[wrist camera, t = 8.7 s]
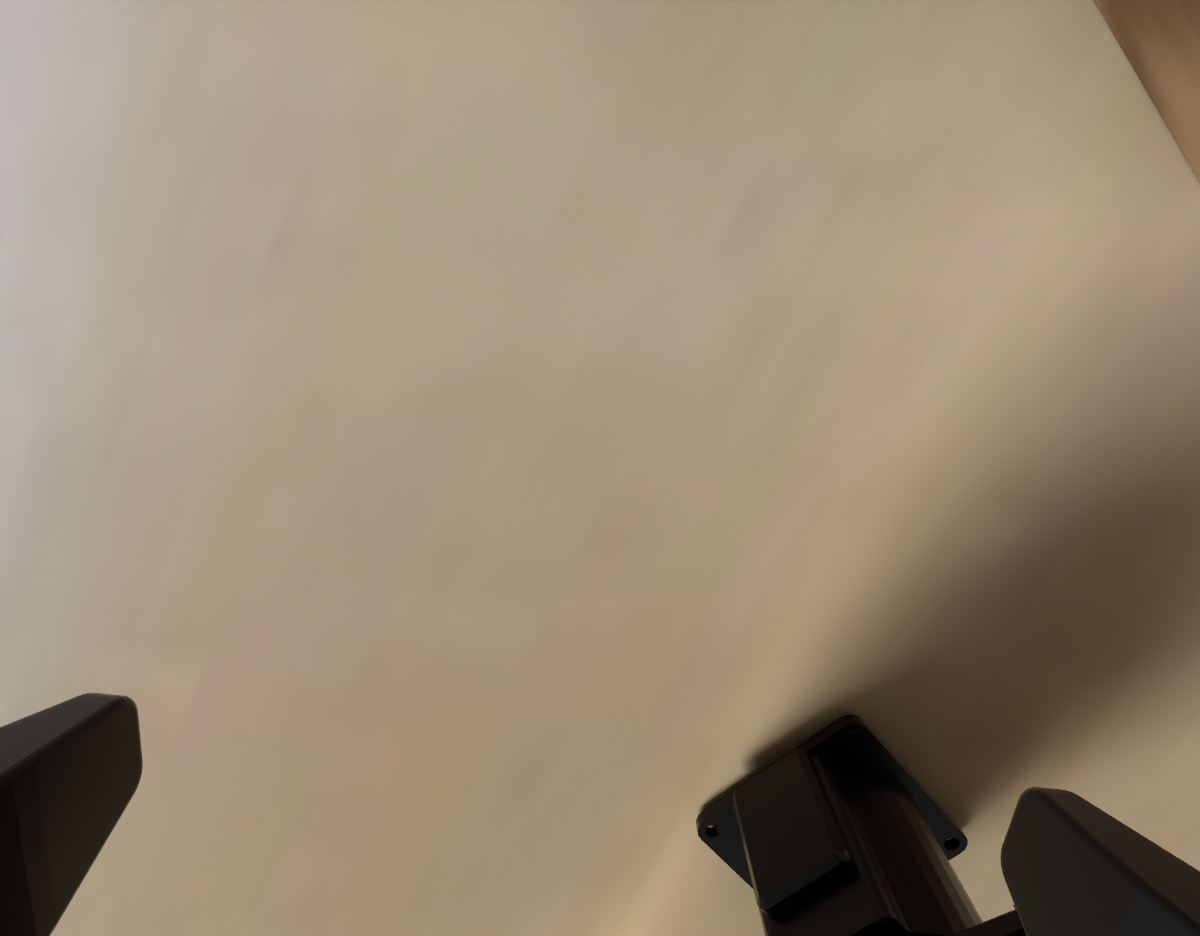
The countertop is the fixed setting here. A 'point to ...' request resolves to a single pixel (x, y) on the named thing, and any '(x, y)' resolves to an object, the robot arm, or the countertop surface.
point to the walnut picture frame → (1164, 60)
